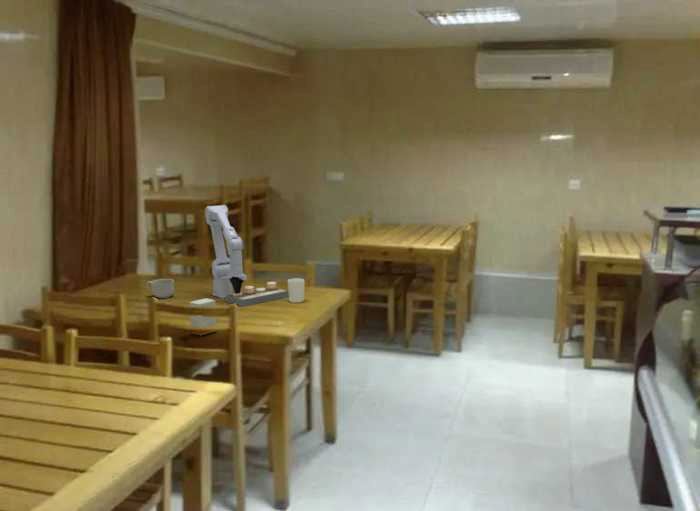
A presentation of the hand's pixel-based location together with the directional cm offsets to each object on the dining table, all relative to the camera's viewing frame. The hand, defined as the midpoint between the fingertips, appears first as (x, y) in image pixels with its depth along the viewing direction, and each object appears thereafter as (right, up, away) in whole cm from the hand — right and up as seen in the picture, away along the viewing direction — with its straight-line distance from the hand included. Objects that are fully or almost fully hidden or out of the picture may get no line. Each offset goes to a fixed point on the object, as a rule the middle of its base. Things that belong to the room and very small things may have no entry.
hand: (237, 293), depth 309 cm
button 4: (+14, 0, +13) cm, 20 cm away
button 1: (0, -4, +1) cm, 4 cm away
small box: (-5, -13, -49) cm, 51 cm away
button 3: (+10, -2, +9) cm, 14 cm away
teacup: (-40, -3, +15) cm, 42 cm away
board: (+9, -3, +6) cm, 11 cm away
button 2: (+5, -1, +5) cm, 7 cm away
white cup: (+27, -4, +1) cm, 28 cm away
